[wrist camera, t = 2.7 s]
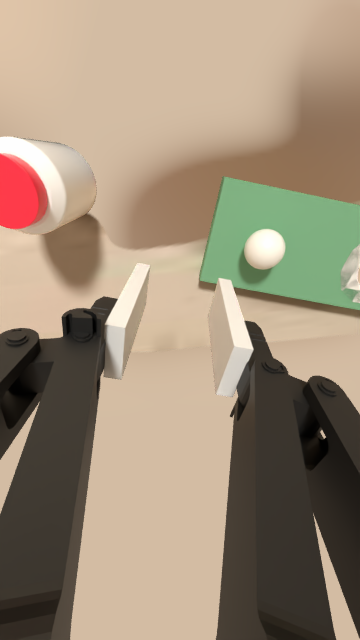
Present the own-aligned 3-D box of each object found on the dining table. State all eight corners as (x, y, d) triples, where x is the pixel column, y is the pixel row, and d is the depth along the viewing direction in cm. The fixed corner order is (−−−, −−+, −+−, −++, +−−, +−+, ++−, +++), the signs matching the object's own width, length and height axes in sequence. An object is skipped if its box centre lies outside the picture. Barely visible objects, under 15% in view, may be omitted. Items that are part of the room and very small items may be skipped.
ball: (247, 221, 29) (256, 230, 25) (284, 228, 29) (298, 238, 25) (236, 258, 31) (242, 271, 27) (270, 264, 31) (281, 278, 28)
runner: (222, 176, 28) (224, 177, 26) (451, 224, 30) (466, 228, 28) (199, 274, 34) (199, 280, 33) (388, 309, 36) (398, 317, 35)
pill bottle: (76, 132, 26) (14, 116, 17) (107, 208, 30) (70, 228, 21) (15, 156, 28) (-73, 153, 19) (52, 225, 32) (-6, 252, 23)
